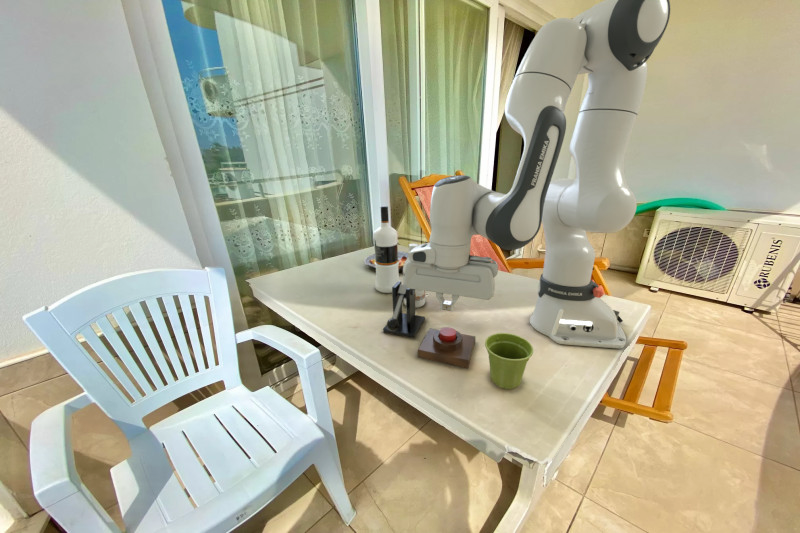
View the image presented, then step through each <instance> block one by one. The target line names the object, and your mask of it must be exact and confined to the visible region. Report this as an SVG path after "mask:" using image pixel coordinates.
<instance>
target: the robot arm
mask: <svg viewBox="0 0 800 533" xmlns="http://www.w3.org/2000/svg"><path fill="white" fill-rule="evenodd" d="M670 17H671V3H670V0H603V1H600V2H598V3H596V4H593V6H592V7H590V8H588V9H586V10H584V11H583V12H581V13H579V14H578V15H576V16H575V17H572V18H569V17H559V18H554V19H552V20H549V21H548V22H546V23H545V24H544V25H542V26H541V28H539V30H538V31H537V32H536V34H535V36H534V38H533V39H532V40H531V42H530V44H529V46H528V48H527V50H526V52H525V53H524V56H523V57H522V59H521V62H520V64H519V66H518V67H517V71H516V73H515V74H514V77H513V80H512V83H511V85H510V88H509V91H508V93H507V96H506V101H505V106H504V115H505V119H506V121H507V123H508V124H509V126H510V127H511V129H512V130H514V131H515V133H518V134H519V135H521V137H522V139H523V145H524V146H523V151H522V154H521V158H520V161H519V165H518V168H517V171H516V175H515V178H514V180H513V183H512V186H511V188H510V190H509V191H508V192H507V193H503V192H498V191H495V190H492V189H490V188H487V187H485V186H483V185H481V184H479V183H478V182H476V181H475V180H474V179H472V177H471V176H469V175H466V174H465V175H463V174H459V175H452V176H447V177H444V178H441V179H439V180H437V182H436V183H435V184H434V185H433V187H432V192H431V197H430V207H429V208H430V209H429V223H430V227H431V228H430V229H431V231H430V235H429V242H426V243H420V244H418V246H416V247H415V248H413V249H412V250H411V251H410V252H409V251H408V253H409V254H408V258H409V260H410V261H409V262H408V263H407V265H406V269H405V285H406V286H407V288H410V289H417V290H423V291H425V292H431V293H435V298H436V299H437V301H438V303H439V305H440V306H439V309H440V310H442V311H448V312H454V309H455V304H456V302H457V301H458V299H459V298H460V297H464V298H469V299H470V298H471V299H477V300H478V299H479V300H483V301H490V300H491V299H492V298H493V297H494V295H495V289H496V288H495V287H496V286H495V284H496V283H495V282H496V281H495V278H496V277H497V275H498V272H499V264H498V262H497V261H496V260H494V259H493V258H492V257H490V256H479V255H473V254H471V248H472V237H473V236H478V235H479V236H480V237H483V238H485V239H487V240H489V241H490V242H492V243H493V244H495V245H496V246H497V247H499V248H500V249H502V250H505V251H515V250H519V249H522V248H524V247H525V246H527V245H528V244H530V243H531V242H532V241H533V240H534V239H535V238H536V237H537V235H538V233H539V231H540V229H541V226H542V229H543V234H544V235H543V236H544V243H545V246H544V247H545V249H544V250H545V251H544V252H545V253H544V260H543V262H544V263H543V268H542V273H541V274H540V278H539V279H538V280H539V281H538V286H537V295H538V296H537V300H536V304H535V306H534V309H533V312H532V314H531V316H530V317H529V324H530V325H531V327H532V328H533V329H535V331H537V332H539V333H541V334H543V335H544V336H547V337H548V338H550V339H551V340H552V341H553V342H554V343H557V344H559V345H565V346H567V345H569V346H581V347H593V348H608V349H623V348H624V347H625V346H626V344H627V337H626V334H625V331H624V330H623V329H622V327H621V326H620V325H619V324H620V323H621V324H622V323H623V321H624V320H623V319H622V317H621V316H620V311H618V310H615V309H613V308H612V307H611V306H610V305H609V304H608V303H607V302H605V301H604V300H603V299H601V298H602V297H604V292H603V290H602V288H601V287H599V285H598V284H597V283H596V282H595V281H594V279H592V274H593V269H594V265H595V260H596V251H595V248H594V247H593V245H592V244H591V242H590V241H589V238H588V235H587V232H588V233H595V234H614V233H617V232H620V231H621V230H623V229H624V228H626V227H627V226H628V225H629V224H630V223H631V222H632V220H633V218H634V217H635V216H636V211H637V206H638V204H637V198H636V195H635V194H634V192H633V191H632V190H631V188H630V186H629V185H628V181H627V179H626V173H625V172H626V171H625V161H626V152H627V149H628V145H629V142H630V140H631V136H632V133H633V130H634V127H635V124H636V120H637V118H638V116H639V113H640V109H641V106H642V103H643V99H644V95H645V90H646V85H647V77H648V63H647V61H648V60H649V59H650V57H651V56H652V54H653V53H654V51H655V49H656V48H657V46H658V45H659V43H660V41H661V40H662V38H663V36H664V34H665V32H666V30H667V28H668V24H669V21H670ZM585 74H587V80H588V87H587V89H586V92H585V94H584V97H583V99H582V102H581V105H580V109H579V112H578V115H577V118H576V122H575V125H574V129H573V133H572V135H571V138H570V142H569V146H568V152H569V154H570V156H571V157H572V158H573V160H574V163H575V178H567V177H562V178H556V179H552V178H553V176H554V172H555V169H556V165H557V162H558V159H559V156H560V153H561V149H562V146H563V143H564V140H565V135H566V131H567V118H566V115H565V110H566V106H567V103H568V100H569V98H570V95H571V94H572V93H571V92H572V90H573V88H574V86H575V83H576V80H577V77H578V76H579V75H585ZM444 294H445V295H451V299H452V300H451V301H450V300H446V299H445V297H444V296H443V295H444ZM618 323H619V324H618Z"/></svg>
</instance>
